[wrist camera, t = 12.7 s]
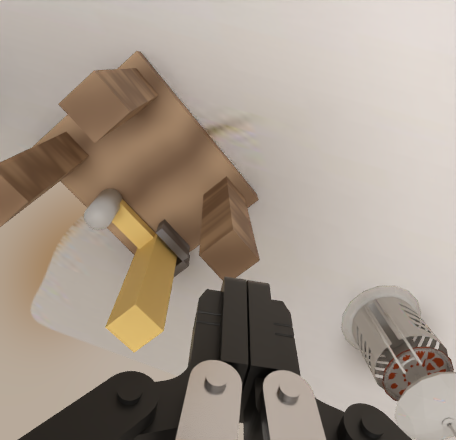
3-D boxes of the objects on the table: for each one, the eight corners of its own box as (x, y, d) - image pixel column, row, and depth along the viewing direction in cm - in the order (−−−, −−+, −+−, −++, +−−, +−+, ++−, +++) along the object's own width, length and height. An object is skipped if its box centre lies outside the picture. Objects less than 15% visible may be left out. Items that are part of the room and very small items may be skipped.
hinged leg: (91, 200, 41) (34, 264, 28) (112, 181, 40) (65, 238, 27) (157, 266, 44) (133, 352, 31) (178, 250, 43) (163, 331, 30)
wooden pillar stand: (37, 146, 41) (-63, 193, 26) (140, 51, 38) (93, 44, 23) (160, 270, 46) (136, 368, 32) (258, 195, 44) (282, 264, 29)
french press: (363, 365, 52) (484, 607, 29) (319, 301, 49) (417, 520, 25) (433, 328, 51) (622, 553, 27) (393, 259, 47) (571, 452, 24)
